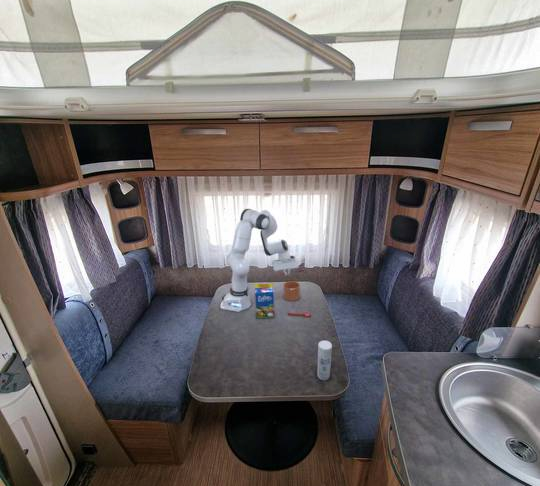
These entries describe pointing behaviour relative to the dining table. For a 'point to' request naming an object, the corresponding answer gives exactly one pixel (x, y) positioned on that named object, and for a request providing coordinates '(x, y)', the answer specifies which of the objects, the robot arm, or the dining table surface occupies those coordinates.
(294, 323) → the dining table surface
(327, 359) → the spray can
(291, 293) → the copper pot
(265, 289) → the blue food package
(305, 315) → the red spoon
